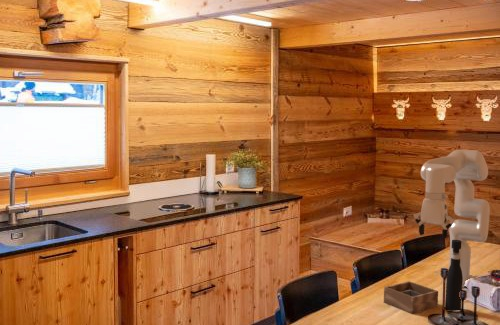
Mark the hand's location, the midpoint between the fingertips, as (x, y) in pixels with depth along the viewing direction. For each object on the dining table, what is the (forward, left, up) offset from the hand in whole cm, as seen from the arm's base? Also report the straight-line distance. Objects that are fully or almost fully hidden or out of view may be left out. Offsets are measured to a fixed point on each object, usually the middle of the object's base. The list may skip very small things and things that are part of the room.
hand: (432, 236), depth 242 cm
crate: (+5, -7, -32) cm, 33 cm away
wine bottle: (-10, +2, -32) cm, 34 cm away
